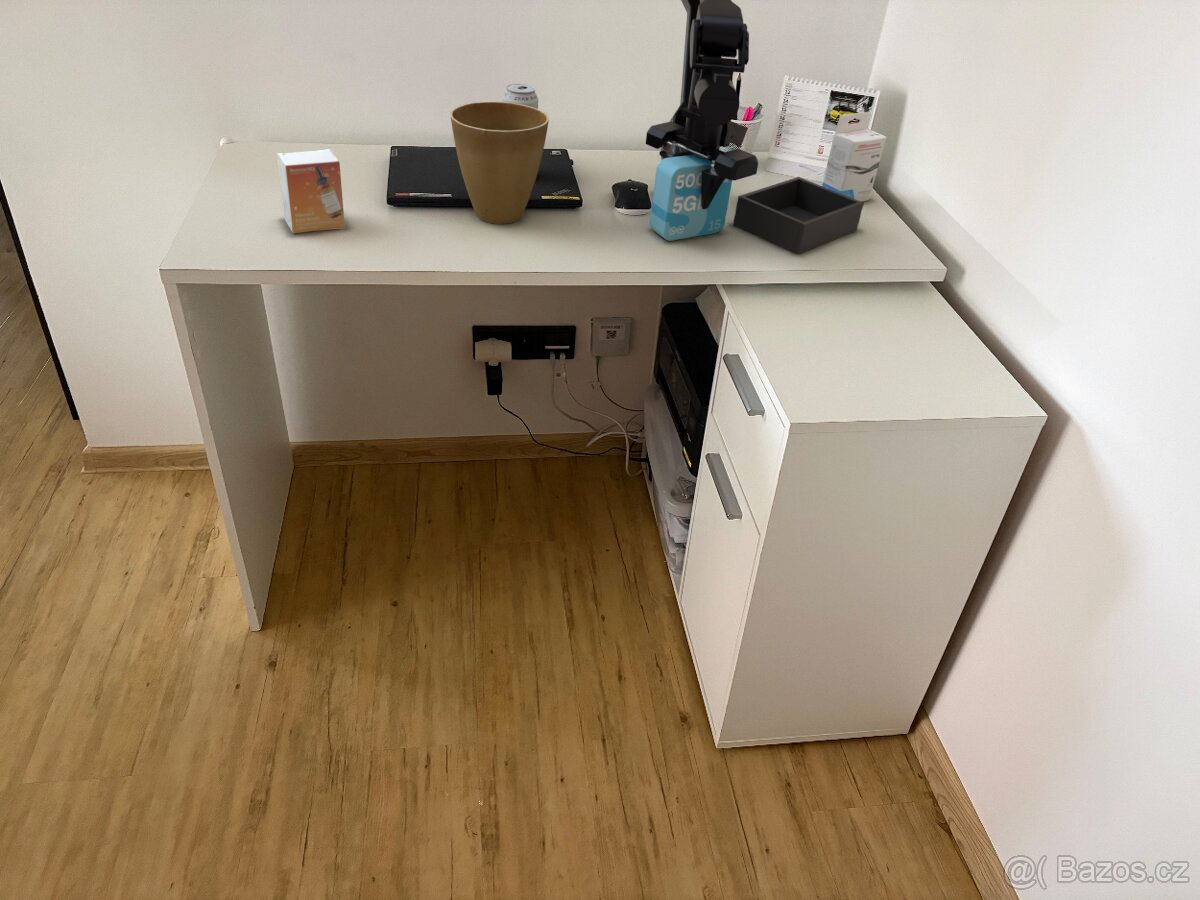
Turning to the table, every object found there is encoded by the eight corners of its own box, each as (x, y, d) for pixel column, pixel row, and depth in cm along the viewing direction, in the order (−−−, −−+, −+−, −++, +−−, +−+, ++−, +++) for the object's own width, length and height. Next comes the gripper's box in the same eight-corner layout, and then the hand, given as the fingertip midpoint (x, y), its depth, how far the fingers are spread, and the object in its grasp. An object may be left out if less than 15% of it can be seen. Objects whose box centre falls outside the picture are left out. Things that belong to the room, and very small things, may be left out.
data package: (663, 242, 145) (673, 168, 138) (647, 231, 148) (657, 158, 141) (723, 232, 150) (736, 160, 143) (708, 221, 153) (719, 150, 146)
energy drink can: (494, 174, 162) (495, 87, 153) (514, 166, 166) (516, 80, 157) (522, 183, 160) (525, 95, 151) (541, 174, 164) (545, 88, 155)
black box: (732, 224, 153) (738, 196, 150) (792, 204, 163) (798, 176, 160) (798, 254, 146) (804, 224, 143) (856, 230, 155) (864, 202, 152)
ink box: (837, 207, 163) (858, 124, 154) (818, 197, 167) (837, 115, 158) (870, 200, 167) (892, 118, 159) (851, 190, 171) (871, 110, 162)
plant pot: (560, 212, 151) (566, 114, 142) (512, 242, 141) (515, 138, 131) (485, 189, 156) (486, 93, 147) (433, 217, 146) (430, 115, 136)
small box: (292, 235, 136) (283, 165, 130) (284, 220, 140) (275, 152, 134) (346, 228, 140) (340, 160, 133) (336, 214, 143) (330, 147, 137)
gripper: (789, 113, 137) (769, 212, 146) (697, 79, 147) (683, 174, 156) (742, 125, 130) (724, 228, 140) (649, 89, 140) (638, 187, 150)
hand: (692, 203), depth 146 cm, fingers closed on data package, 5 cm apart
